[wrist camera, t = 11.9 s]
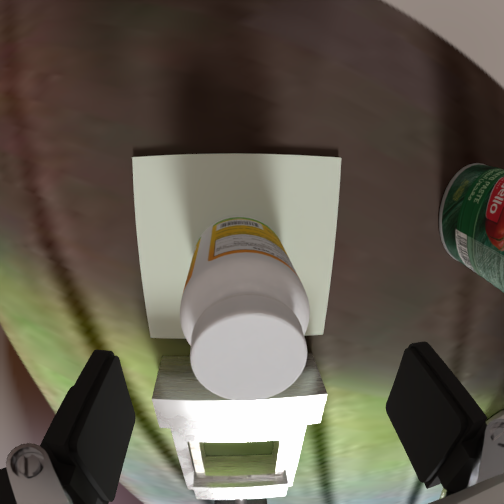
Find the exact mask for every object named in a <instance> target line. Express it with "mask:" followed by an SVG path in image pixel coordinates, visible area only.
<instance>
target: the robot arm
mask: <svg viewBox="0 0 504 504" xmlns="http://www.w3.org/2000/svg"><path fill="white" fill-rule="evenodd" d="M386 412H387V414H388V416H389V418H390V420H391V422H392V424H393V426H394V428H395V430H396V433H397V435H398V437H399V439H400V441H401V443H402V445H403V447H404V449H405V451H406V453H407V455H408V457H409V459H410V461H411V464H412V466H413V468H414V470H415V472H416V474H417V476H418V479H419V480H420V481H421V482H424V483H425V486H426V488H427V489H428V488H430V487H433V486H436V485H438V484H440V483H441V484H442V486H443V490H442V493H441V496H440V499H439V500H437V501H434V502H431V503H429V504H504V410H503V411H500V412H499V413H497V414H495V415H494V416H493V417H491V418H490V419H488V420H487V421H486V419H487V416H486V415H485V414H484V412H483V411H482V410H481V408H480V407H479V406H478V404H477V403H476V402H475V401H474V399H473V398H472V397H471V395H470V394H469V393H468V392H467V390H466V389H465V388H464V386H463V385H462V384H461V383H460V381H459V380H458V379H457V378H456V376H455V375H454V374H453V373H452V371H451V370H450V369H449V368H448V366H447V365H446V364H445V363H444V362H443V360H442V359H441V358H440V357H439V355H438V354H437V353H436V352H435V351H434V349H433V348H432V347H431V346H430V345H429V344H428V343H427V342H418V343H412V344H410V345H409V347H408V348H407V349H405V351H404V354H403V357H402V360H401V363H400V366H399V369H398V372H397V375H396V378H395V381H394V384H393V387H392V390H391V392H390V395H389V398H388V400H387V403H386ZM485 421H486V422H485ZM134 424H135V412H134V409H133V406H132V402H131V399H130V396H129V392H128V389H127V386H126V382H125V378H124V375H123V371H122V367H121V364H120V360H119V357H118V356H114V353H113V352H112V351H105V350H94V352H93V353H92V355H91V356H90V358H89V360H88V362H87V363H86V365H85V367H84V369H83V370H82V372H81V374H80V376H79V378H78V379H77V381H76V383H75V385H74V386H72V387H71V388H70V389H69V391H68V393H67V394H66V396H65V398H64V400H63V402H62V404H61V406H60V407H59V409H58V411H57V413H56V415H55V417H54V419H53V421H52V423H51V425H50V427H49V429H48V431H47V433H46V435H45V437H44V439H43V441H42V443H41V445H40V446H38V445H36V444H31V443H27V444H21V445H19V446H17V447H15V448H14V449H13V450H11V452H10V453H9V455H8V457H7V460H6V468H3V469H0V504H108V503H109V501H110V502H112V501H113V500H114V498H115V494H116V490H117V486H118V482H119V478H120V475H121V471H122V467H123V463H124V459H125V456H126V452H127V448H128V445H129V441H130V438H131V434H132V431H133V427H134Z"/></svg>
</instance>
